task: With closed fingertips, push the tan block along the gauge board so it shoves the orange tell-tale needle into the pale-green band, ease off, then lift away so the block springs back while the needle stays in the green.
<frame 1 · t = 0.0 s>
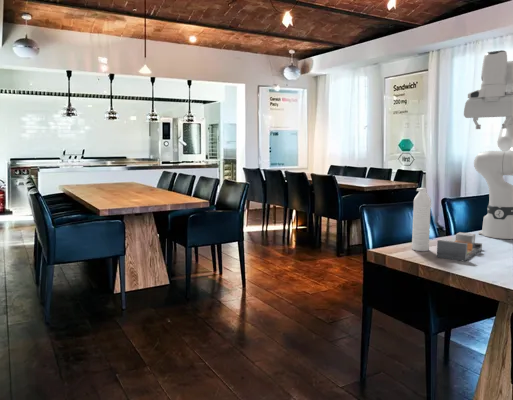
hand: (490, 128, 180), 48 cm above the table, fingers open, 8 cm apart
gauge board: (460, 253, 177), on the table
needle: (462, 245, 179), point 2 cm above the table, slide at 0.0 cm
tan block: (465, 240, 181), point 4 cm above the table, slide at 0.0 cm
water bottle: (419, 250, 182), on the table
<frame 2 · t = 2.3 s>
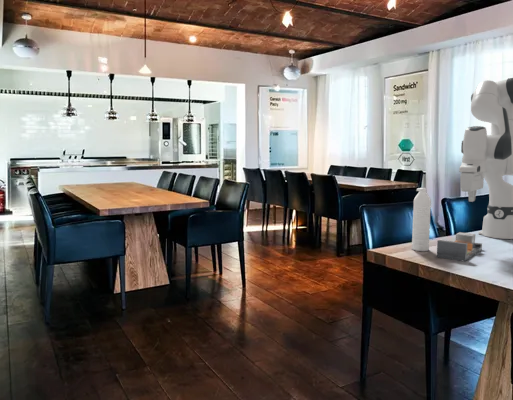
hand: (471, 201, 185), 19 cm above the table, fingers closed
nothing on the table moved.
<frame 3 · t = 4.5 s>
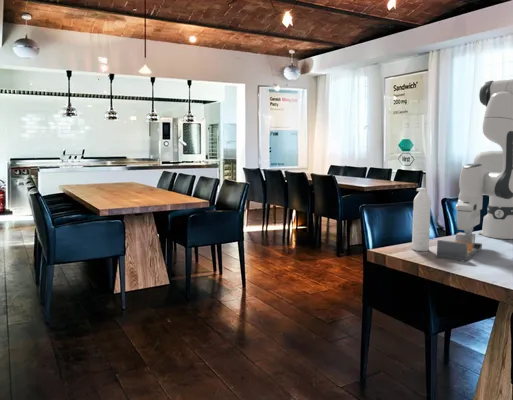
hand: (468, 238, 185), 4 cm above the table, fingers closed
tan block: (465, 240, 181), point 4 cm above the table, slide at 0.1 cm, touching gripper
everything else where it was.
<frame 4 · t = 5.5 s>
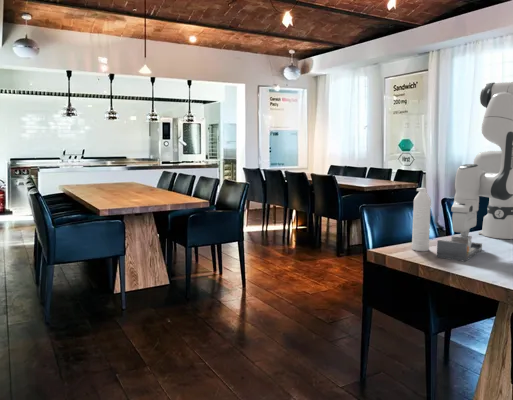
hand: (464, 240, 180), 4 cm above the table, fingers closed
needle: (458, 247, 175), point 2 cm above the table, slide at 5.0 cm, touching tan block
tan block: (461, 242, 177), point 4 cm above the table, slide at 5.5 cm, touching gripper, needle
everything else where it was.
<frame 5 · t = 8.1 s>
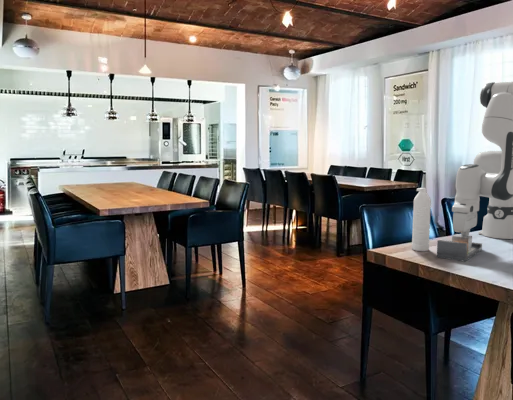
hand: (464, 240, 181), 4 cm above the table, fingers closed
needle: (456, 249, 173), point 2 cm above the table, slide at 7.7 cm
tan block: (461, 242, 178), point 4 cm above the table, slide at 4.8 cm, touching gripper
everything else where it was.
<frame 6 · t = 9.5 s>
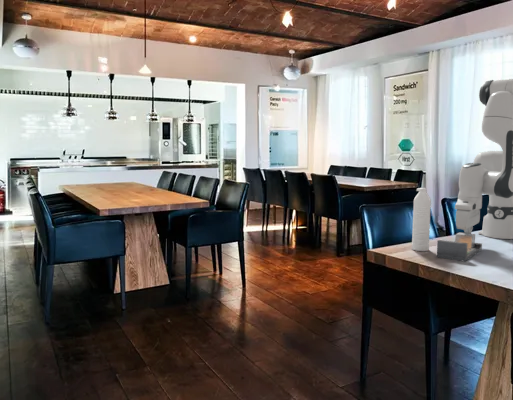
hand: (467, 237, 185), 4 cm above the table, fingers closed
tan block: (465, 240, 181), point 4 cm above the table, slide at 0.3 cm
everything else where it was.
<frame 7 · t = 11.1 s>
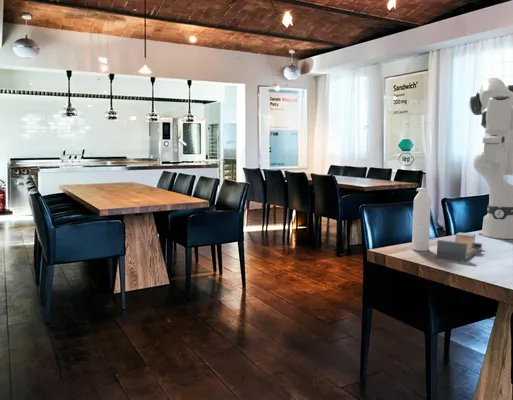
hand: (495, 174, 179), 30 cm above the table, fingers closed
nothing on the table moved.
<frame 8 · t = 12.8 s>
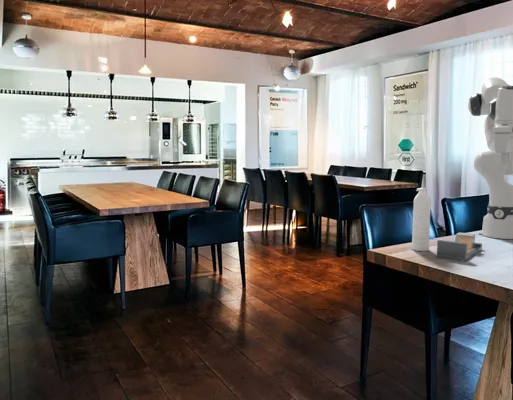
hand: (504, 164, 177), 34 cm above the table, fingers closed
nothing on the table moved.
at the end: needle slide at 7.7 cm; tan block slide at 0.3 cm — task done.
